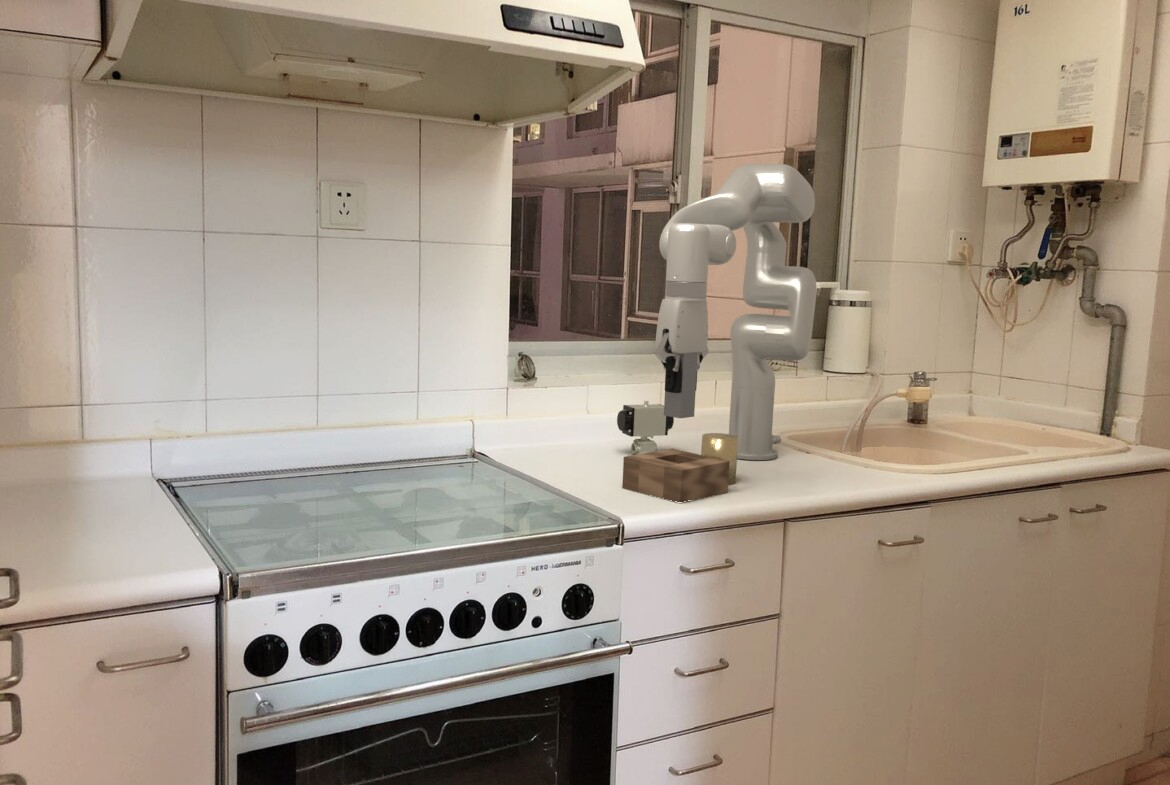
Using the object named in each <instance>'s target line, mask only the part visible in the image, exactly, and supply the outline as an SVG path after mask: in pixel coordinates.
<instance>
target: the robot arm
mask: <svg viewBox="0 0 1170 785" xmlns="http://www.w3.org/2000/svg"><path fill="white" fill-rule="evenodd" d="M815 199H816V198H815V193H814V189H813V188H812V186H811V184H810V183H809V182H808V180H807V179H806V178H805V177H804V176H803V175H802V174H801V173H800V172H799V171H798V169H796V168H795V167H793V166H791V165H789V164H784V163H783V164H782V163H773V164H772V163H763V164H762V163H753V164H744V165H740V166H739V167H738V166H737V168H735V169H734V170H733V171H732V173H730V175H729V176H728V177H727V179H726V180H725V181H724V183H723V184H721V186H720V187H719V189H718V190H717V191H716V193H715V194H712V195H710V196H706V197H705V198H702V199H700V200H698V201H695V202H692V203H690V204H689V205H688V204H687V205H685V206H684V207H682V208H680V209H679V210H678V211H676V212H675V214H673V215H672V216H671V218H670V219H669V220H668V222H667V223H666V224H665V226H664V227H663V229H662V232H661V234H660V236H659V237H660V238H659V251H660V254H661V256H662V258H663V259H664V260H666V271H665V272H666V273H665V274H666V275H665V289H664V290H665V291H664V292H665V293H664V298H663V299H662V300H661V303H660V307H659V311H658V317H657V318H658V319H657V325H656V333H655V350H656V351H655V356H656V358H657V359H658V360H659V361H660V363H661V364H662V365H663V370H664V371H665V376H664V392H665V391H666V392H671V393H679V392H680V379H681V372H680V371H678V370H679V365H680V360H681V355H682V354H683V353H695V352H698V357H697V371H698V370H699V369H701V363H702V362H703V359H704V358H705V357H706V356H707V355H708V354H709V348H708V338H709V313H708V312H709V311H708V302H707V290H708V288H707V287H708V275H709V272H708V271H709V266H719V265H720V266H722V265H725V264H727V263H728V262H730V261H731V260H732V259H733V257H734V255H735V254H736V249H737V240H736V236H735V233H734V231H736V230H740V229H741V228H742V229H743V231H744V234H745V237H746V243H747V244H746V245H747V246H746V247H747V248H746V258H745V265H744V266H745V267H744V274H743V283H742V284H743V285H742V297H743V301H744V303H746V304H745V305H747V306H749V307H752V308H756V309H757V308H759V309H769V310H784V311H789V313H790V315H788V316H787V315H777V314H776V315H775V314H764V313H746V314H742V315H739V316H738V317H736V319H734V320H733V322H732V324H731V326H730V332H729V333H730V344H731V353H732V354H731V356H732V359H731V360H732V373H731V374H732V375H731V376H732V377H731V389H730V390H731V391H730V406H729V407H730V408H729V420H728V421H729V424H728V434H731V435H735V436H737V437H738V451H737V460H738V459H740V460H747V461H749V460H750V461H767V460H774V459H776V458H777V457H778V451H777V450H776V449H773V445H776V444H777V445H778V444H781V441H782V437H781V435H778V434H776V435H774V434H773V421H774V420H773V419H774V418H773V417H774V406H775V391H776V377H775V373H774V370H773V369H772V367H771V366H770V364H769V362H768V361H767V359H769V360H770V359H772V360H783V361H784V360H785V361H801V360H803V359H804V358H806V357H807V356H808V353H809V352H810V348H811V343H812V337H813V336H812V335H813V328H814V318H815V311H816V301H817V280H816V276H815V274H814V273H813V271H812V270H811V269H810V268H808V267H804V266H795V265H793V266H790V265H789V266H788V265H787V266H786V256H787V255H786V254H787V241H786V239H785V237H784V236H783V233H782V232H781V230H780V229H779V228H778V227H777V225H776V224H775V223H787V224H788V223H789V224H791V223H793V224H795V223H796V224H798V223H801V224H802V223H805V222H806V221H808V220H809V219H810V218H811V217H812V215H813V214H814V211H815V207H816V206H815V204H816V200H815ZM671 352H672V353H671ZM671 357H674V361H673V360H672V358H671ZM697 384H698V374H697V375H696V388H697Z"/></svg>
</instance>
